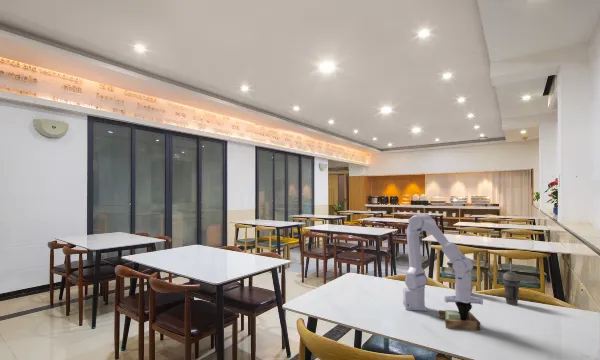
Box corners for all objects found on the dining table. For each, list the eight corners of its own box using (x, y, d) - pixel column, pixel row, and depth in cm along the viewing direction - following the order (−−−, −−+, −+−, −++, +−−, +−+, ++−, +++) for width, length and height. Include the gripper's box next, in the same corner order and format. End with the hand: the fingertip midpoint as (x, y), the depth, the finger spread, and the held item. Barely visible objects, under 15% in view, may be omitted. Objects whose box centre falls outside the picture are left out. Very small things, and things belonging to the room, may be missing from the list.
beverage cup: (504, 305, 149) (504, 263, 150) (501, 299, 156) (500, 260, 157) (522, 307, 147) (522, 264, 147) (518, 301, 153) (517, 261, 154)
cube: (448, 325, 128) (448, 314, 128) (445, 320, 132) (445, 309, 132) (460, 326, 127) (460, 314, 127) (456, 321, 131) (456, 310, 132)
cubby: (446, 327, 125) (446, 320, 125) (439, 317, 135) (439, 310, 135) (480, 330, 123) (480, 322, 123) (470, 319, 133) (470, 312, 133)
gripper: (447, 289, 127) (447, 323, 126) (486, 291, 124) (486, 325, 124) (442, 284, 133) (442, 316, 133) (478, 286, 131) (479, 318, 131)
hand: (463, 320), depth 129 cm, fingers closed
